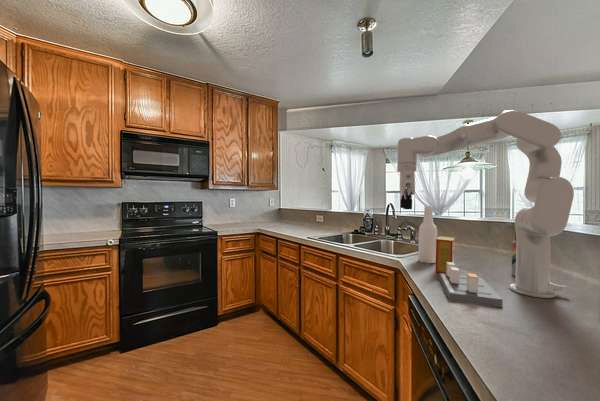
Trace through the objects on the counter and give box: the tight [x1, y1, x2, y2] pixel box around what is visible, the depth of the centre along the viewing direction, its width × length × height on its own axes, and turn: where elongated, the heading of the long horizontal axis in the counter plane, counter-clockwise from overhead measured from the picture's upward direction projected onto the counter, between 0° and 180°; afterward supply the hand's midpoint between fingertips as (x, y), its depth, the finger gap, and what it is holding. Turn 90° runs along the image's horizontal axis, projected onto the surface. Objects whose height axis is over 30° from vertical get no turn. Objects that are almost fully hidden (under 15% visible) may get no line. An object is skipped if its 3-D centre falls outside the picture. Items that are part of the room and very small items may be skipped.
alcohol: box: [417, 205, 438, 264], centre depth 141 cm, size 9×9×30 cm
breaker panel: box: [438, 273, 504, 308], centre depth 98 cm, size 15×24×3 cm, turn 159°
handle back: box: [446, 262, 456, 277], centre depth 107 cm, size 2×4×5 cm, turn 159°
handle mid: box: [450, 266, 461, 284], centre depth 100 cm, size 2×4×5 cm, turn 159°
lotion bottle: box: [511, 231, 516, 277], centre depth 117 cm, size 6×6×20 cm
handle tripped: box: [466, 272, 479, 293], centre depth 91 cm, size 2×4×5 cm, turn 159°
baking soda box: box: [435, 236, 456, 274], centre depth 123 cm, size 10×6×16 cm
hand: (405, 208), depth 111 cm, fingers open, 9 cm apart
